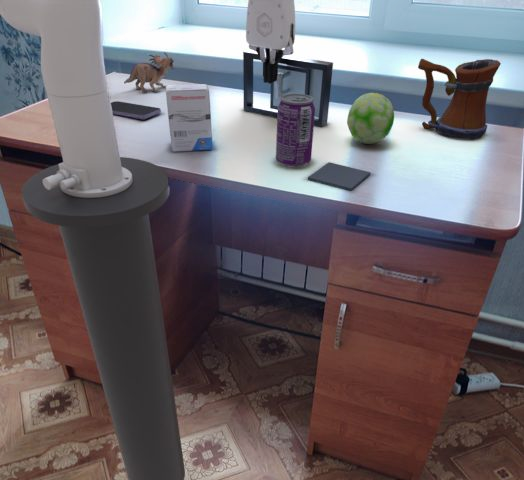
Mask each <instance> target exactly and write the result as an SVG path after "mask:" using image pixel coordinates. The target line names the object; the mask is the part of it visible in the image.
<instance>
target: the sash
mask: <svg viewBox="0 0 524 480" xmlns="http://www.w3.org/2000/svg"><path fill="white" fill-rule="evenodd" d="M310 72H311V69H306V68H300V67H294V66H288V65H286V64H280V63H278V73H277V80H276V81H275V82H273V83H270V95H269V96H270V99H269V100H270V101H269V107H270V109H275V110H278V106H279V104H280V102H281V100H280V99H281V96H283V95H286V94H305V95H309V85H310Z"/></svg>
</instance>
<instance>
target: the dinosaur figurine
mask: <svg viewBox="0 0 524 480" xmlns="http://www.w3.org/2000/svg"><path fill="white" fill-rule="evenodd" d="M163 54H164V55H165V57H166V58H163V57H162V56H161V55H158V54H148V56H149V57H151V58H149V59H148V62H140V63H137V64H135V65H134V66H133V68H132V69H131V72H130V75H129V77H128V78H126V80H125V81H124V82H123V84H125V85H126V84H127V83H128V84H129V83H132V82H134V81H136V82H135V88H136V89H138V90H141V92H142V93H143V94H147V93H148V92H149V91H148V90H147V89H146V88H145V84H146V83H148V85H149V86H150V88H151V89H152V92H153V93H158V90H157V89H156V88H155V86H158V87H162V88H163V89H166V85H164V83H162V82H161V81H162V80H163V79H164V78H165V77H166V76H167V74H168V71H169V70H174V68H175V67H174V64H173V63H175V61H174V59H173V58H172V57H171V56H170V55H169V54H168V53H167V52H163ZM149 61H151V62H149ZM155 65H156V66H155ZM139 84H140V85H139Z"/></svg>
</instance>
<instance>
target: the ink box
mask: <svg viewBox="0 0 524 480" xmlns="http://www.w3.org/2000/svg"><path fill="white" fill-rule="evenodd" d="M165 86H166V88H165V97H166V99H165V100H166V107H167V117H168V127H169V137H170V146H171V152H173V153H175V152H176V153H177V152H192V151H211V150H213V133H212V114H211V113H212V111H211V97H210V88H209V86H208V84H206V83H196V84H166V85H165Z"/></svg>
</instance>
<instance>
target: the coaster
mask: <svg viewBox="0 0 524 480" xmlns="http://www.w3.org/2000/svg"><path fill="white" fill-rule="evenodd" d="M371 174H372V173H371V171H367V170H362V169H358V168H355V167H350V166H346V165H342V164H338V163H334V162H327V163H326V164H324V165H323V166H322V167H320V168H319V169H318V170H316V171H315V172H313V173H312V174H310V175H309V176H308V177H307V181H312V182H316V183H319V184H324V185H327V186H331V187H334V188H339V189H342V190H346V191H349V192H350V191H351V192H352V191H353V190H354V189H355V188H356V187H358V186H359V185H360V184H361V183H362V182H364V181H365V180H366V179H367V178H368V177H369V176H371Z"/></svg>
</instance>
